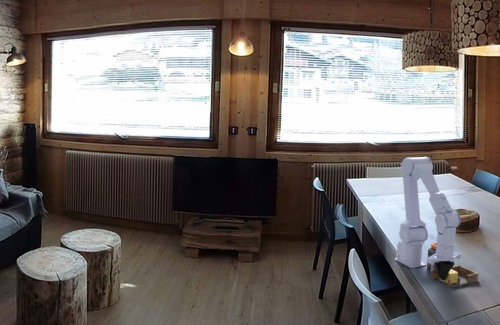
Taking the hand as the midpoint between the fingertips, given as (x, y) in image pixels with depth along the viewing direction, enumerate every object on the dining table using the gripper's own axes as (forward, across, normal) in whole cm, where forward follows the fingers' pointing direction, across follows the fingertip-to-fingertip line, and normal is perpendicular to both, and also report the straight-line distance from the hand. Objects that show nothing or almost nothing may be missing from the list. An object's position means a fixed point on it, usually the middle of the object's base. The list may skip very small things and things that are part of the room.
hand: (442, 279), depth 142 cm
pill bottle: (+2, +5, +8) cm, 9 cm away
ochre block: (+1, +3, 0) cm, 4 cm away
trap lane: (+1, +6, 0) cm, 6 cm away
